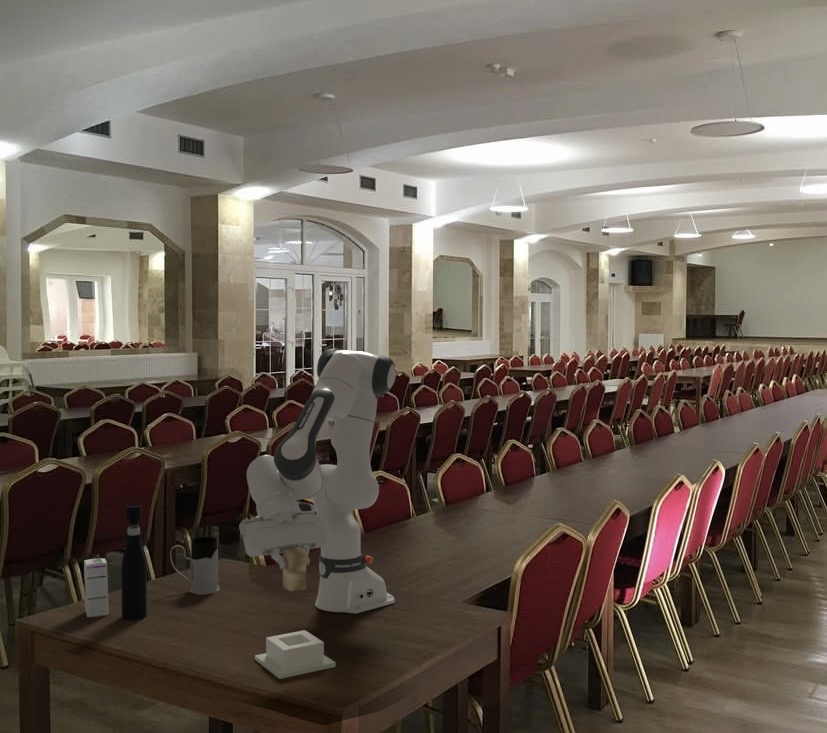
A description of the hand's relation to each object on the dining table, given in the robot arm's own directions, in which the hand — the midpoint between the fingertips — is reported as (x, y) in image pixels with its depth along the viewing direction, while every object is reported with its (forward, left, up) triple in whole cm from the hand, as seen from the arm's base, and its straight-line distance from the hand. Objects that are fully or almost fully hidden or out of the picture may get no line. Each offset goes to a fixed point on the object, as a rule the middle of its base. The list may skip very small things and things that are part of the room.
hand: (295, 565), depth 214 cm
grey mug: (0, -70, -23) cm, 73 cm away
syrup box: (+30, -63, -23) cm, 73 cm away
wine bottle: (+22, -55, -23) cm, 63 cm away
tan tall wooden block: (0, -1, -5) cm, 5 cm away
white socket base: (0, -1, -23) cm, 23 cm away
